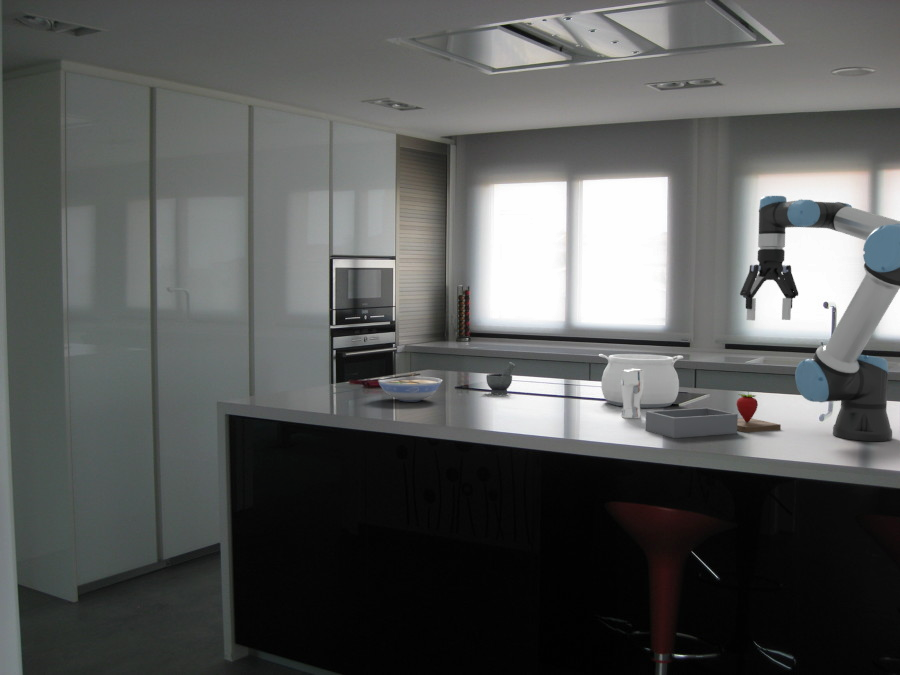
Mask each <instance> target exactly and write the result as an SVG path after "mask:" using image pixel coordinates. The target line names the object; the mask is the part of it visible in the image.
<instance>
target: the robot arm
mask: <svg viewBox="0 0 900 675" xmlns="http://www.w3.org/2000/svg"><path fill="white" fill-rule="evenodd" d="M786 228H810V229H811V228H812V229H814V228H815V229H828V230H832V231H835V232H839V233H842V234H844V235H849V236H851V237H854V238H856V239H857V238H858V239H861V240H863V241H865V242H864V245H863V249H862V251H863V252H864V253H863V255H862V257H863V261H864V265H863V268H864V271H865V274H864V277H863V278H862V281H861V282H860V284H859V286H858V288H857V290H856V292H855V293H854V295H853V297H852V298H851V300H850V302H849V304H848V305H847V307H846V309H845V311H844V313H843V315H842V316H841V318H840V320H839V322H838V323H837V325H836V327H835V329H834V330H833V333H832V334H831V336H830V338H829V339H828V341H827V343H826V344H825V345H820V346H818V347H817V349H816V350H815V352H814V354H813V356H812V358H806V359H803V360H802V361H800V362H799V363H798V365H797V366H796V369H795V373H794V378H795V380H794V381H795V384H796V388H797V390H798V392H799V393H800V395H801V397H803V398H804V399H806V401H809V402H814V403H815V402H816V403H826V402H840V408H839V412H838V413H837V416H836V420H835V423H834V425H833V426H832V435H833V436H835V437H838V438H841V439H847V440H852V441H864V442H885V441H892V439H893V429H892V428H891V425H890V424H891V423H890V420H889V416H888V413H887V404H888V402H887V400H888V386H889V375H890V373H889V362H888V361H887V359H886V358H884V357H880V356H873V355H865V354H862V353H863V351H864V349H865V348H866V345H867V344H868V342H870V339H871V337H872V336H873V334H874V333H875V331H876V329H877V327H878V326H879V324H880V323H881V321H882V319H883V317H884V316H885V315H886V314H885V313H887V311H888V308H889V307H890V305H891V303H892V302H893V301H894V299H895V297H896V295H897V293H898V292H899V290H900V220H897V219H894V218H890V217H887V216H883V215H879V214H876V213H872V212H869V211H867V210H866V211H865V210H862V209H858V208H854V207H853V206H852V205H851V204H849V203H847V202H839V201H836V202H834V201H833V202H832V201H831V202H830V201H829V202H828V201H827V202H826V201H814V200H812V199H801V198H800V199H798V200H791V201H787V197H786V196H784V195H764V196H763V197H761V198H760V200H759V209H758V234H757V236H758V238H757V240H758V242H757V247H758V248H760V249H758V250H757V261H758V264H750V265H749V272H748V274H747V276H746V278H745V281H744V283H743V285H742V288H741V290H740V293H739V295H740V296H742V297H743V298H745V309H746V321H756V307H757V306H756V305H757V304H756V303H757V302H756V301H757V300H756V299H757V298H754V297H755V296H756V295H757V292H758V291H759V290H760V289H761V287H762V286H763V285H764V283H765V282H766V281H774V282H775V283H776V284H777V286H778V288H779V289H780V291H781V293H782V294H783V296H784V297H782V304H781V305H782V306H781V307H782V308H781V320H783V321H791V318H792V317H791V315H792V314H791V312H792V308H793V299H795V298H796V297H798V296H799V291H798V288H797V285H796V283H795V279H794V277H793V274H792V266H791V265H790V264H787V265H786V264H784V265H783V262H785V255H786V254H785V249H784V248H785V247H786Z"/></svg>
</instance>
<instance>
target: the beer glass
mask: <svg viewBox="0 0 900 675" xmlns="http://www.w3.org/2000/svg"><path fill="white" fill-rule="evenodd" d="M621 392H622V399H623V407H622V411H621V412H622V413H621V418H622V419H623V418H624V419H630V420H631V419H633V420H638V419H641V418H642V413H641V408H640V403H641V397H642V392H643V370H640V369H622V375H621Z"/></svg>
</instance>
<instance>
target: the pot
mask: <svg viewBox="0 0 900 675" xmlns="http://www.w3.org/2000/svg"><path fill="white" fill-rule="evenodd" d="M598 357H600V358H604V359H606V360H607V365H606V367H605V369H604V370H603V373H602V376H601V392H602V395H603V397H604V399H605V400H606V402H607V403H608V404H610V405H613V406H618V407H622V408H623V399H622V392H621V375H622V369H640V370H643V392H642V397H641V403H640V409H659V408H666V407H667V408H668V407H670V406H671V405H672V404H673V403H675V401H676V399H677V398H678V394H679V390H680V388H679V387H680V380H679V376H678V372H677V371H676V369H675V367H674V364H675V363H676V362H677V361H678V360H682V359H684V356H683V355H674V356H667V355H660V354H646V353H645V354H644V353H620V354H611V355H608V356H607V355H605V354H603V353H599V354H598Z"/></svg>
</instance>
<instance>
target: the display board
mask: <svg viewBox="0 0 900 675" xmlns="http://www.w3.org/2000/svg"><path fill="white" fill-rule="evenodd" d="M781 427H782V426H781V424H779V423H775V422H770V421H766V420H761V419H757V418H753V417H752V418H751V419H750V421H749V422H745V420H744V419H743V417H738V420H737V432H743V433H755V432H766V431H767V432H768V431H781Z"/></svg>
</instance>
